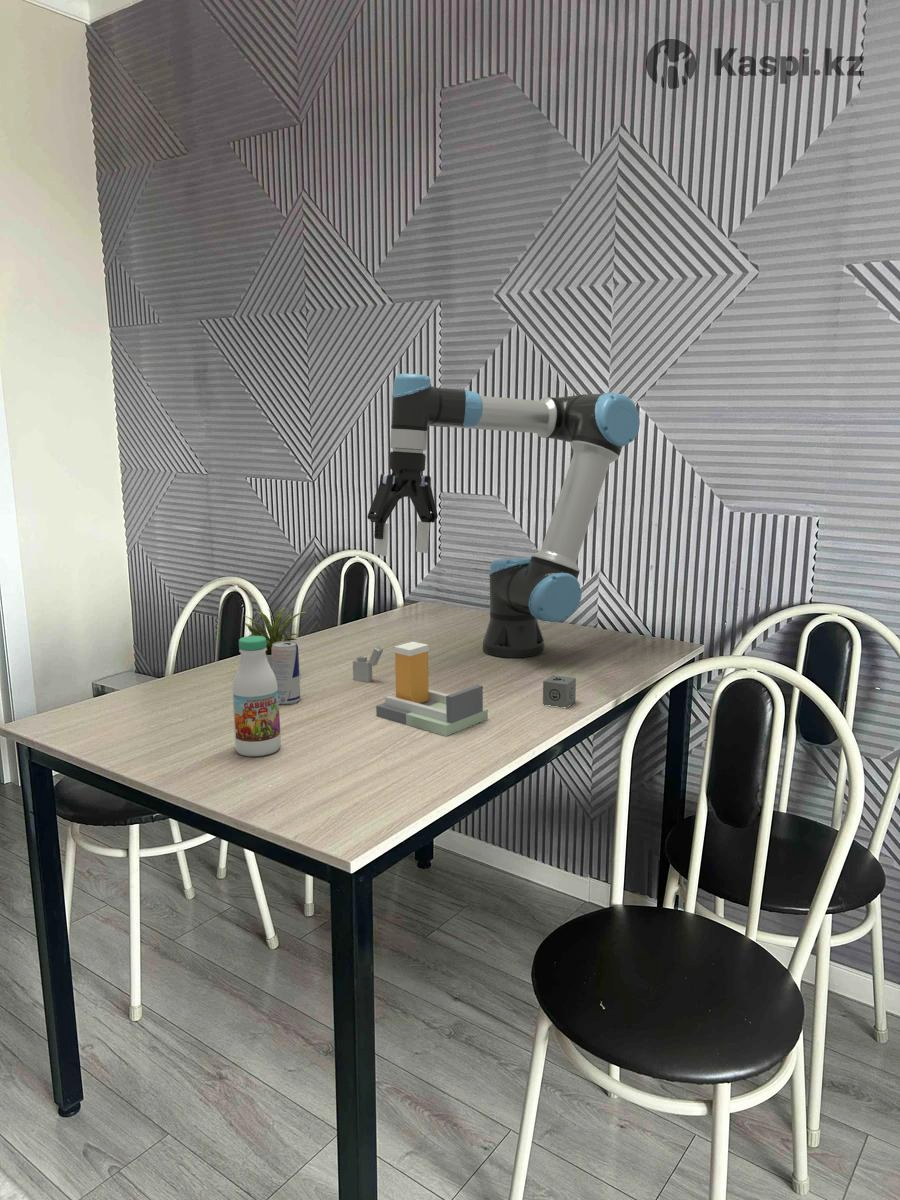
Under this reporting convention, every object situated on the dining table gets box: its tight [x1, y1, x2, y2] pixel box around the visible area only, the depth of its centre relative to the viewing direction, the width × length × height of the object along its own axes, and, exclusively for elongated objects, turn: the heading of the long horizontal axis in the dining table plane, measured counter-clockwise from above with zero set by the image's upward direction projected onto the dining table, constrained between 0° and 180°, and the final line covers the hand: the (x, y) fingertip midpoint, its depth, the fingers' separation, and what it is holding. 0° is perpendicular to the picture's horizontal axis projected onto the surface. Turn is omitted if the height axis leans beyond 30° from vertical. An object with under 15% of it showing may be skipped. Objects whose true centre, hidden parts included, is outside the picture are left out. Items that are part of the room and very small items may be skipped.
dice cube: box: [542, 674, 577, 709], centre depth 178 cm, size 5×5×5 cm
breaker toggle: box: [393, 641, 430, 704], centre depth 172 cm, size 4×5×11 cm
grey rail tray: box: [375, 684, 489, 737], centre depth 170 cm, size 18×12×7 cm, turn 49°
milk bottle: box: [232, 635, 282, 757], centre depth 153 cm, size 8×8×20 cm
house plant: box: [244, 606, 307, 671], centre depth 197 cm, size 14×14×16 cm
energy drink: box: [271, 640, 301, 705], centre depth 181 cm, size 5×5×12 cm
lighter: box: [352, 645, 384, 683], centre depth 194 cm, size 7×2×8 cm, turn 63°
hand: (401, 553), depth 186 cm, fingers open, 13 cm apart
